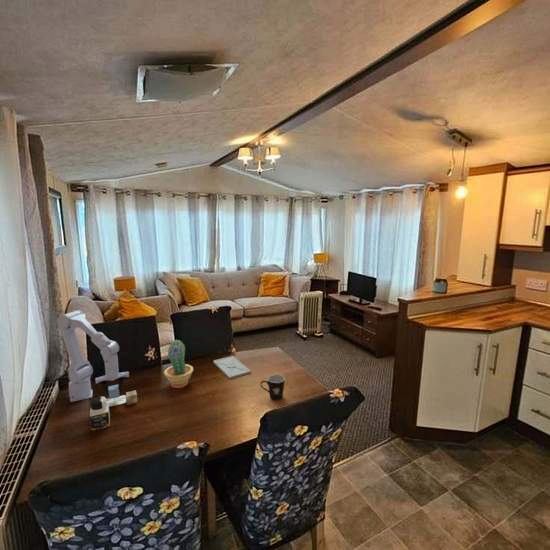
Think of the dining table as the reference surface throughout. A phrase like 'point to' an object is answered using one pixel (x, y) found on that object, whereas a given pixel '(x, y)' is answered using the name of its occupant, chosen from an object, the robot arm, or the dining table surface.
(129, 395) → the oak block
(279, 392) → the coffee mug
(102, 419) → the medicine bottle
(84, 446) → the dining table surface
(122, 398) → the letter
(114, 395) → the slate cube
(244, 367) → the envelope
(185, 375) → the potted cactus
